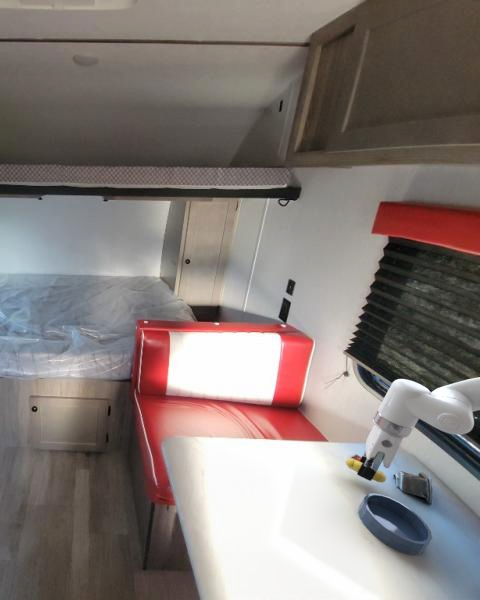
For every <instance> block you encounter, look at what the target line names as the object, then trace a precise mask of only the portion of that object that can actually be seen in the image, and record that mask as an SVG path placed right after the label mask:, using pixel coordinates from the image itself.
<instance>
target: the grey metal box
mask: <svg viewBox="0 0 480 600" xmlns="http://www.w3.org/2000/svg"><path fill="white" fill-rule="evenodd" d="M392 476H394V477H395V478H394V477H393V478H394V479H395V483H396V488H399V489H400V491H401V492H403V493H407V494H410V495H413V496H416V497H417V496H418V497H420V498H424V499H425V501H426V502H427V503H429V505H432V504H433V497H434V496H433V478H432V477H431V476H430V475H428V474H426V472H424V471H421V472H419V473H418V475H416V474H412V473H408V472H405V471H402V470H395V474H393V475H392Z"/></svg>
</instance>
